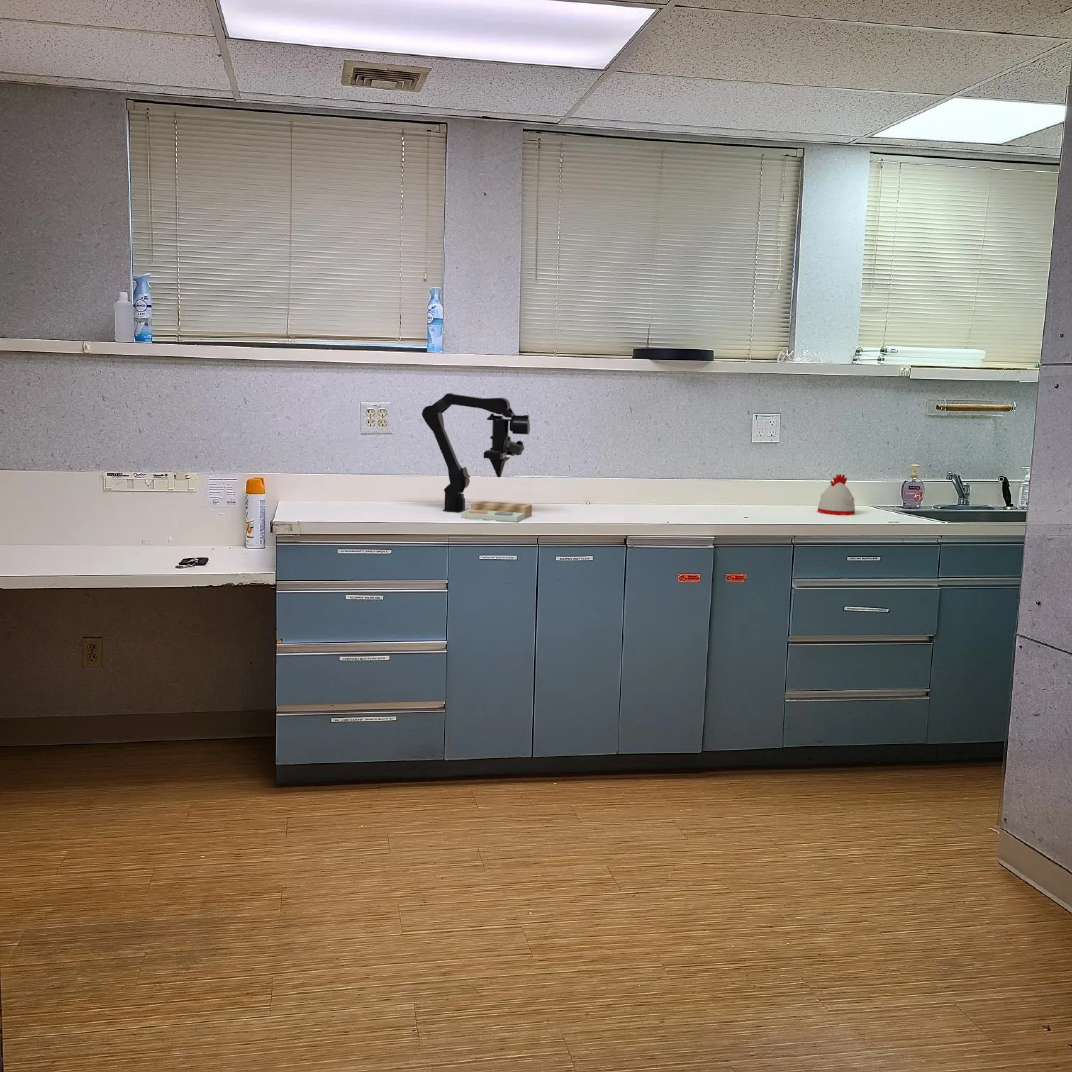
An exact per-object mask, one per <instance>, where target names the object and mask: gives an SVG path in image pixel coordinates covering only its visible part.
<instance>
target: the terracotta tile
mask: <svg viewBox="0 0 1072 1072" xmlns="http://www.w3.org/2000/svg"><path fill="white" fill-rule="evenodd" d="M469 513H477V514H488V511H487V510H472V511H469Z"/></svg>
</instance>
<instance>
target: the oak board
mask: <svg viewBox="0 0 1072 1072" xmlns="http://www.w3.org/2000/svg"><path fill="white" fill-rule="evenodd" d="M532 506H533V504H529V503H516V502H502V501H501V502H500V501H489V500H488V501H486V500H477V501H474V502H472V503H470V509H473V510H487V511H501V512H516V513H525V519H527V518H529V517H531V516H532V514H533V513H532V510H533V509H532V508H533V507H532Z"/></svg>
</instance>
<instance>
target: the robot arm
mask: <svg viewBox="0 0 1072 1072" xmlns="http://www.w3.org/2000/svg"><path fill="white" fill-rule="evenodd" d="M452 405H454V406H458V407H459V406H460V407H468V408H474V409H481V410H485V411H487V412H490V413H491V414H490V415H489V416H488V417H487V418H486V421H492V424H491V425H492V428H491V431H492V432H491V435H490V437H489V438H490V440H491V447H490V448H489V449H486V450H485V451H484V452H483V459H488V460H489V461H490V463H491V465H492V468H493V470H494V472H495V475H496V477H497V478H501V477H502V474H503V471H504V467H505V464H506V463H507V461H508V460H510V458H511V457H512V456H513V457H514V456H521V455H522V453H523V451H524V450H525V445H524V442H523V441H521V440H518V441H513V440H511V436H510V435H509V431H510V432H512V435H529V434H530V432H531V431H530V430H531V424H530V415H528V414H523V415H516V413H514V411H513V409H512V408H511V403H510V401H509V399H508V398H506V397H489V398H487V397H486V398H485V397H477V396H470V395H463V394H462V395H461V394H455V393H452V392H449V393H445V394H444V395H443V397H441V398H440V399H439V400H437V401H435V402H434V403H433V404H432V405H427V406H425V407H424V408H423V409H422V412H421V416H422V419H423V420H424V422H425V423H426V425H427V426H428V427H429V429H430V430H431V431H432V433H433V435H434V437H435V440H436V442H437V445H438V447H439V449H440V453H441V455H442V457H443V460H444V462H445V465H446V467H447V471H448V473H447V474H448V480H449V484H448V485H447V486H446V487H445V488H444V489H443V492H444V509H442V512H454V513H462V512H464V511H466V498H465V494H464V492H465V489H467V488H468V486H469V485H470V482H471V481H470V478H471V475H470V474H469V473H468V468H467V466H464V467H462V466H461V464H460V463H459V460H458V457H457V456H456V454H455V451H454V449H453V446H452V444H451V441H450V438H449V435H448V434H447V431H446V428H445V424H444V417H443V413H444V412H446V411H447V410H448V409H449V408H450V407H452ZM508 456H509V457H508ZM510 456H511V457H510Z"/></svg>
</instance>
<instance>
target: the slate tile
mask: <svg viewBox="0 0 1072 1072" xmlns="http://www.w3.org/2000/svg"><path fill="white" fill-rule="evenodd" d="M495 515H505V516H513V512H500V511H499V512H496V513H495Z"/></svg>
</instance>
